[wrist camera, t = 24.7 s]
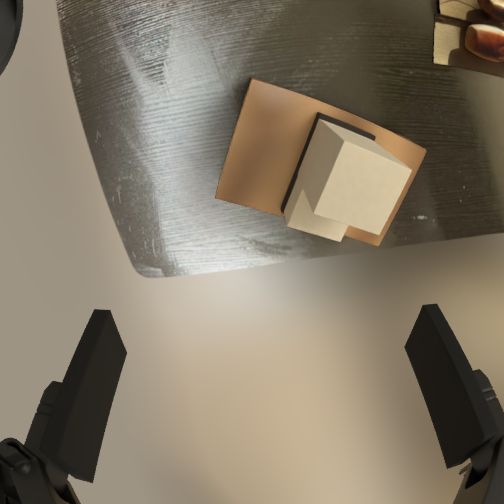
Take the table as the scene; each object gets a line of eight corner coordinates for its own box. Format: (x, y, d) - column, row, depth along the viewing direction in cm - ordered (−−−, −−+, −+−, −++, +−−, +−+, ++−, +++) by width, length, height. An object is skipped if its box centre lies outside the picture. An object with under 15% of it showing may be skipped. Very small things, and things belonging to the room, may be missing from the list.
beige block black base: (317, 111, 29) (345, 133, 20) (372, 134, 30) (416, 165, 21) (279, 208, 34) (290, 261, 26) (331, 223, 36) (355, 278, 27)
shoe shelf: (219, 178, 39) (214, 198, 34) (251, 76, 32) (252, 78, 27) (364, 222, 42) (378, 246, 37) (404, 136, 35) (426, 150, 30)
